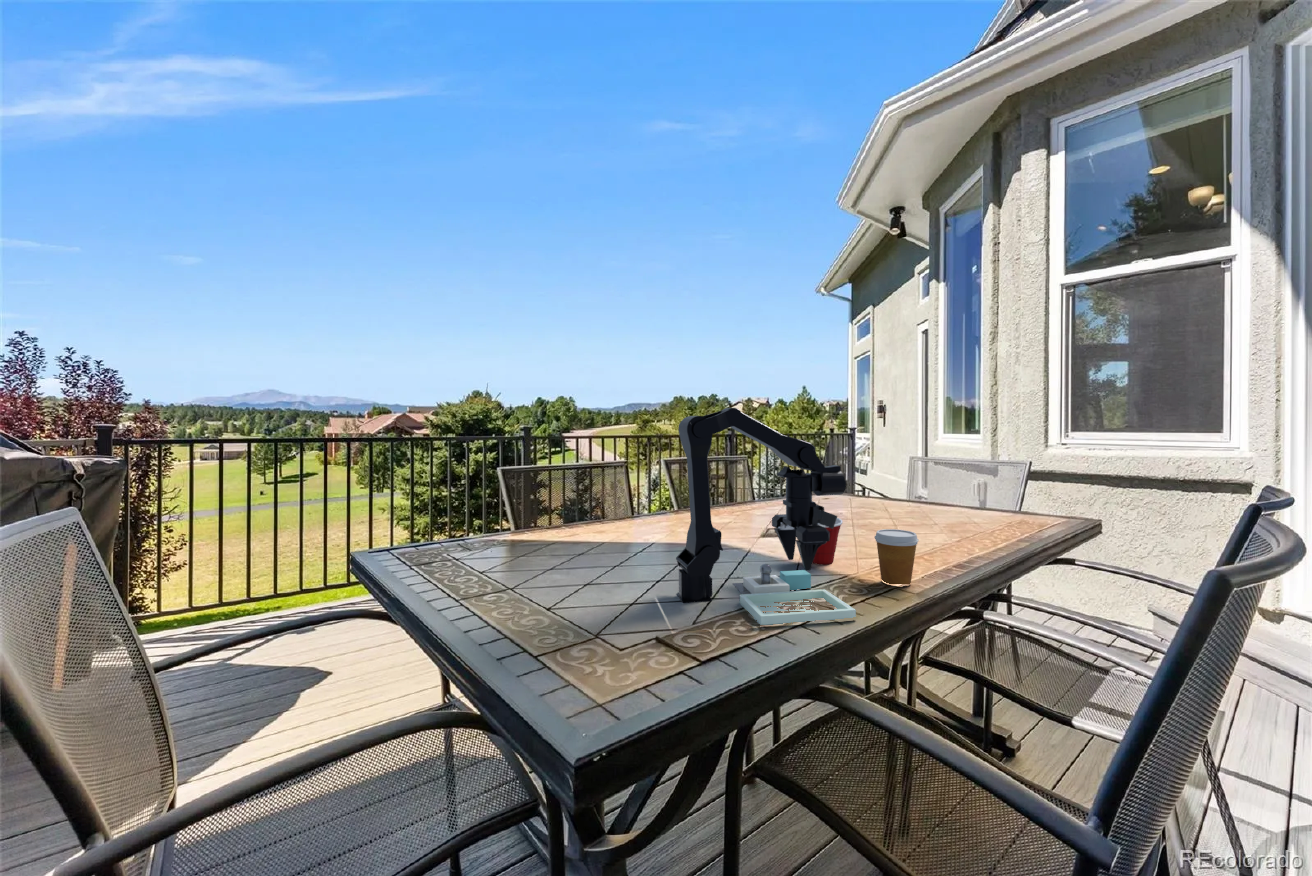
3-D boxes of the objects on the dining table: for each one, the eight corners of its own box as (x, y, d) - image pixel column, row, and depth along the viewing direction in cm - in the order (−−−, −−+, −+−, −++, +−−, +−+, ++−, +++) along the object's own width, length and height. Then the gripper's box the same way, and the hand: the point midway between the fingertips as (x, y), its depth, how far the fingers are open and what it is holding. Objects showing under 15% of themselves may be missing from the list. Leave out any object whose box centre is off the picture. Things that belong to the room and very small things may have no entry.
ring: (754, 596, 120) (754, 580, 120) (743, 585, 128) (743, 570, 128) (815, 592, 122) (815, 577, 122) (800, 582, 130) (800, 567, 130)
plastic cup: (796, 566, 146) (796, 520, 145) (805, 556, 155) (805, 514, 155) (838, 571, 141) (839, 524, 140) (845, 561, 150) (845, 517, 150)
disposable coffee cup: (865, 581, 132) (865, 531, 131) (894, 575, 136) (894, 527, 135) (897, 592, 123) (898, 538, 123) (927, 586, 127) (928, 534, 127)
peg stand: (748, 601, 118) (748, 572, 117) (732, 585, 129) (732, 558, 129) (802, 598, 119) (802, 569, 119) (780, 582, 131) (780, 556, 131)
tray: (761, 628, 103) (761, 616, 103) (739, 604, 116) (739, 594, 116) (855, 621, 106) (855, 610, 106) (824, 599, 119) (824, 589, 119)
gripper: (853, 501, 117) (852, 574, 118) (814, 490, 135) (814, 553, 136) (803, 503, 115) (803, 577, 116) (771, 491, 134) (771, 555, 134)
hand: (798, 564), depth 125 cm, fingers open, 9 cm apart
